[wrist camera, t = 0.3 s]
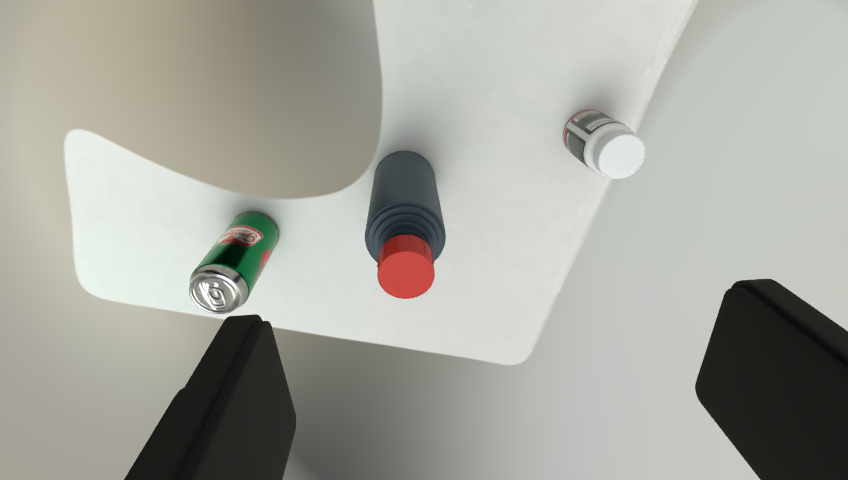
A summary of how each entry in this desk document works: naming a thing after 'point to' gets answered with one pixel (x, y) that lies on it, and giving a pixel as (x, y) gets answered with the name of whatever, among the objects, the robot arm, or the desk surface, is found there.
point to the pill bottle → (604, 144)
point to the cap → (405, 266)
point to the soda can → (233, 264)
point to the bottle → (404, 203)
